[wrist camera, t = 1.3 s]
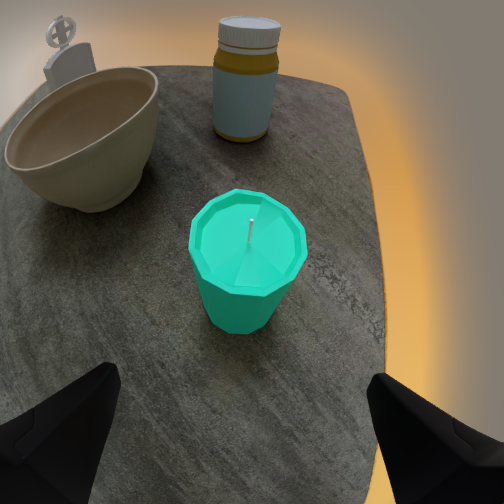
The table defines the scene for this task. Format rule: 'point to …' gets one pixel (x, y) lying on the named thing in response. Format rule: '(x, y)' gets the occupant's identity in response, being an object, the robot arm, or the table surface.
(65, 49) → the gravestone
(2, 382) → the table surface
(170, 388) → the table surface
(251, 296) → the candle
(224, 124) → the bottle
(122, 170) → the planter bowl
